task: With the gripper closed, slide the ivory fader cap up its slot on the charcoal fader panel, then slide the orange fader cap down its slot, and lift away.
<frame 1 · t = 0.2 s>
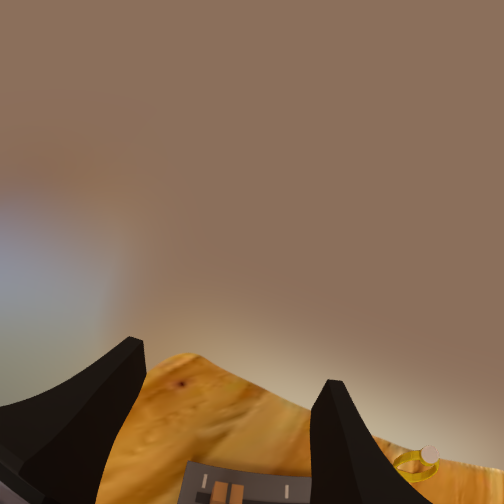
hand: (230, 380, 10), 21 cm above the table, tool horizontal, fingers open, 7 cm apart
watch: (402, 477, 24), on the table
fader orange: (226, 496, 18), point 4 cm above the table, slide at 6.0 cm
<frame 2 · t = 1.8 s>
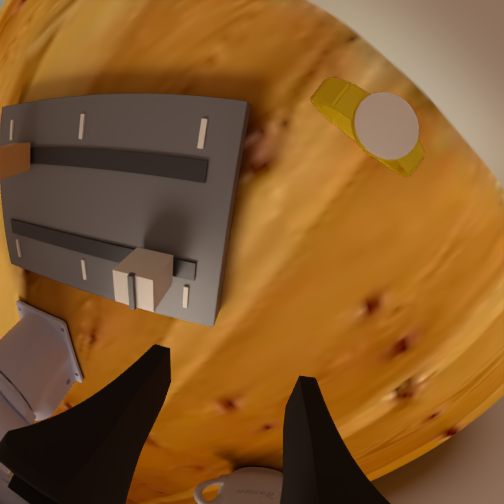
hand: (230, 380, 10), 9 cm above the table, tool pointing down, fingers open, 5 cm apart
teacup: (250, 469, 32), on the table
watch: (354, 127, 15), on the table
fader panel: (95, 195, 18), on the table
fader orange: (5, 160, 13), point 4 cm above the table, slide at 6.0 cm
fader ivory: (143, 278, 15), point 4 cm above the table, slide at -6.0 cm
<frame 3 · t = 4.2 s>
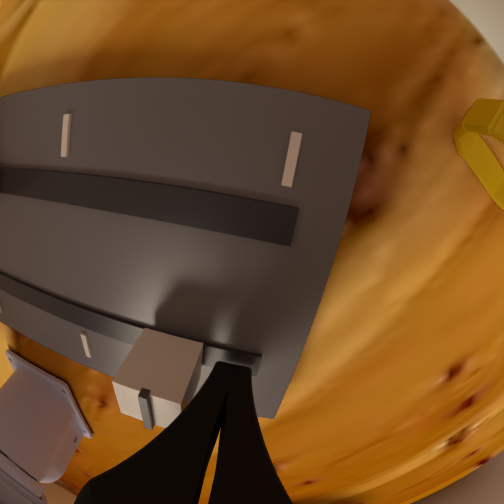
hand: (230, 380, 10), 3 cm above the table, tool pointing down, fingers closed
watch: (480, 163, 9), on the table
fader panel: (93, 241, 12), on the table
fader ivory: (160, 381, 10), point 4 cm above the table, slide at -5.0 cm, touching gripper
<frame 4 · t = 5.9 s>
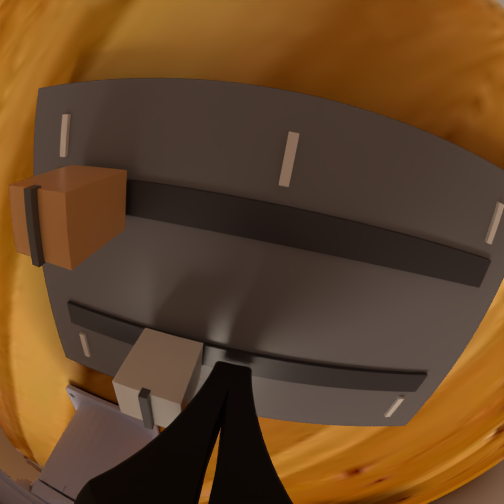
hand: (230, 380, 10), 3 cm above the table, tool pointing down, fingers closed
fader panel: (262, 278, 12), on the table
fader orange: (67, 210, 7), point 4 cm above the table, slide at 6.0 cm
fader ivory: (160, 381, 10), point 4 cm above the table, slide at 2.9 cm, touching gripper
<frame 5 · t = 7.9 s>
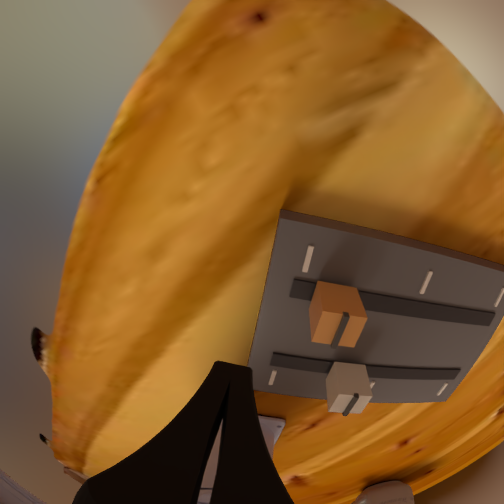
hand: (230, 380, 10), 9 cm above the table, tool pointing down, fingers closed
teacup: (376, 484, 34), on the table
fader panel: (389, 327, 20), on the table
fader orange: (336, 314, 15), point 4 cm above the table, slide at 6.0 cm
fader ivory: (348, 389, 17), point 4 cm above the table, slide at 3.0 cm
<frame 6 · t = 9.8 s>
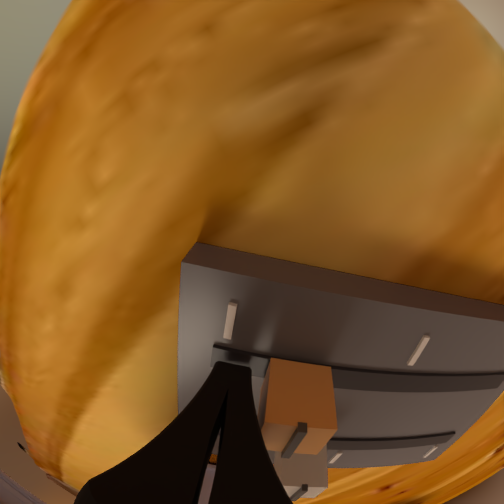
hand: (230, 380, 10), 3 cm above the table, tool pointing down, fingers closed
fader panel: (365, 392, 14), on the table
fader orange: (294, 410, 9), point 4 cm above the table, slide at 5.0 cm, touching gripper
fader ivory: (299, 471, 12), point 4 cm above the table, slide at 3.0 cm
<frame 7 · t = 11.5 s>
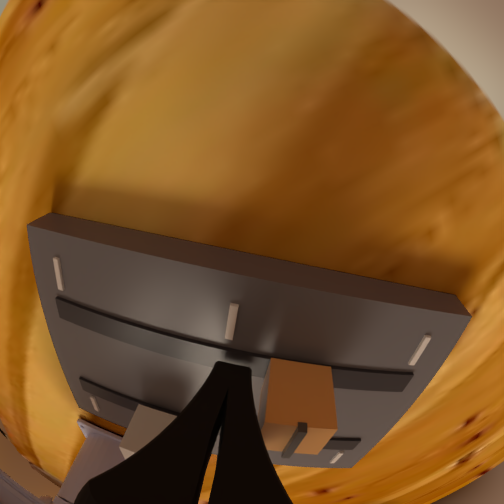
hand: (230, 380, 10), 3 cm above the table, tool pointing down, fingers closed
fader panel: (225, 372, 14), on the table
fader orange: (294, 410, 9), point 4 cm above the table, slide at -2.9 cm, touching gripper
fader ivory: (151, 441, 12), point 4 cm above the table, slide at 3.0 cm
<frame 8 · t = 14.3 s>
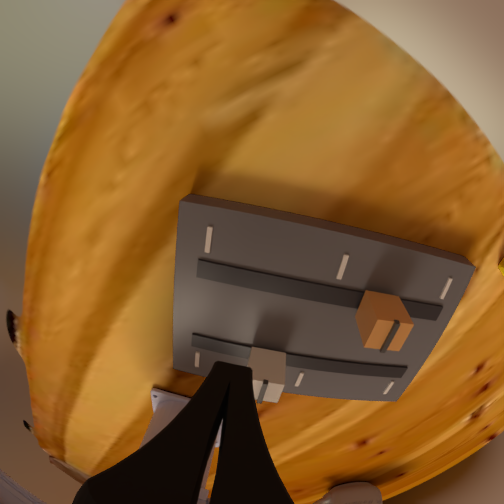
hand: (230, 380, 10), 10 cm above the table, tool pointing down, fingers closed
teacup: (344, 484, 35), on the table
fader panel: (317, 315, 20), on the table
fader orange: (383, 321, 15), point 4 cm above the table, slide at -3.0 cm
fader ivory: (264, 376, 18), point 4 cm above the table, slide at 3.0 cm
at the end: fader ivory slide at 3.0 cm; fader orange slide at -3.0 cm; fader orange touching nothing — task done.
